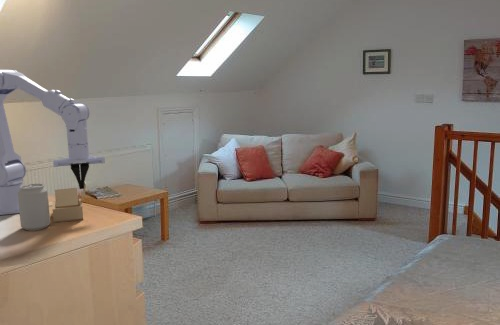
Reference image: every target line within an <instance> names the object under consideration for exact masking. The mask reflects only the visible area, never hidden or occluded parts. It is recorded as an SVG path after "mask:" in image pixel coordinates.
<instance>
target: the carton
mask: <svg viewBox="0 0 500 325" xmlns="http://www.w3.org/2000/svg"><path fill="white" fill-rule="evenodd" d="M82 201H83V200H82V198H78V205H71V206H61V207H56V200H54V201H48V202H49V208H51V207H52V218H53V219H52V220H53V224H57V223H66V222H72V221H73V222H74V221H82V220H84V215H83V214H84V213H83V202H82Z"/></svg>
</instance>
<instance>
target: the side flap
mask: <svg viewBox="0 0 500 325" xmlns="http://www.w3.org/2000/svg"><path fill="white" fill-rule="evenodd" d="M86 188H87V182H86V180H85V181H84V189H82V193H81V201H84V199H85V194H86Z"/></svg>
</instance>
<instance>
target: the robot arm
mask: <svg viewBox="0 0 500 325" xmlns="http://www.w3.org/2000/svg"><path fill="white" fill-rule="evenodd" d="M17 89H18V90H21V91H23V92H25V93H26V94H28V95H31V96H32V97H34V98H36V99H38V100H41V103H42V106H43V107H45V108H46V109H48V110H49V111H51V112H53V113H55V114H57V115H58V116H60V117H61V119H62V120H63V122H64V123H65V128H66V138H67V149H68V150H67V151H68V157H67V158H59V159H57V158H56V159H53V163H52V164H53V168H58V167H67V166H70V169H71V171H72V173H73V174H74V177H75V178H76V181H77V184H78V188H79V190H83V189H84V182H85V181H86V178H87V174H88V171H89V168H90V165H96V164H106V158H105V156H104V155H103V156H102V155H101V156H90V151H89V137H88V124H87V120H88V119H89V118H90V110H89V108H88V106H87V105H86V104H85V103H84V102H75V99H74V98H69V97H67V96H66V95H64V94H62V91H60V90H58V89H51V90H48V89H46V88H44V87H43V86H41V85H39V84H38V83H37V82H35V81H33V80H32V79H30V78H29V77H27V76H26V75H25V74H24V73H23V72H19V71H17V70H16V69H13V68H8V69H7V68H5V69H4V68H0V216H2V215H13V214H20V213H19V203H18V192H19V190H20V188H19V187H20V186H23V182H24V178H25V177H26V174H27V167H26V165H25V164H24V162H23V161H22V157H21V155H20V154H18V152H16V151H15V149H14V144H13V141H12V136H11V132H10V126H9V122H8V119H7V114H6V111H5V107H4V106H5V105H4V100H6V98H7V97H8V95H10V94H11V93H13V92H14V91H16V90H17Z"/></svg>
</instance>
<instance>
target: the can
mask: <svg viewBox="0 0 500 325" xmlns="http://www.w3.org/2000/svg"><path fill="white" fill-rule="evenodd" d="M22 185H23V184H22ZM19 188H20V190H19V192H18V203H19V213H18V214H19V222H20V227H21V228H22V229H24V230H26V231H29V232H31V231H32V232H33V231H38V230H39V231H40V230H43V229H46V228H47V227H48V226H49V225H50V224H51V216H50V214H51V213H50V207H49V202H50V201H49V194H48V193H49V192H48V189H47V188H46V187H45V184H43V183H29V184H24V185H23V186H20V187H19Z"/></svg>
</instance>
